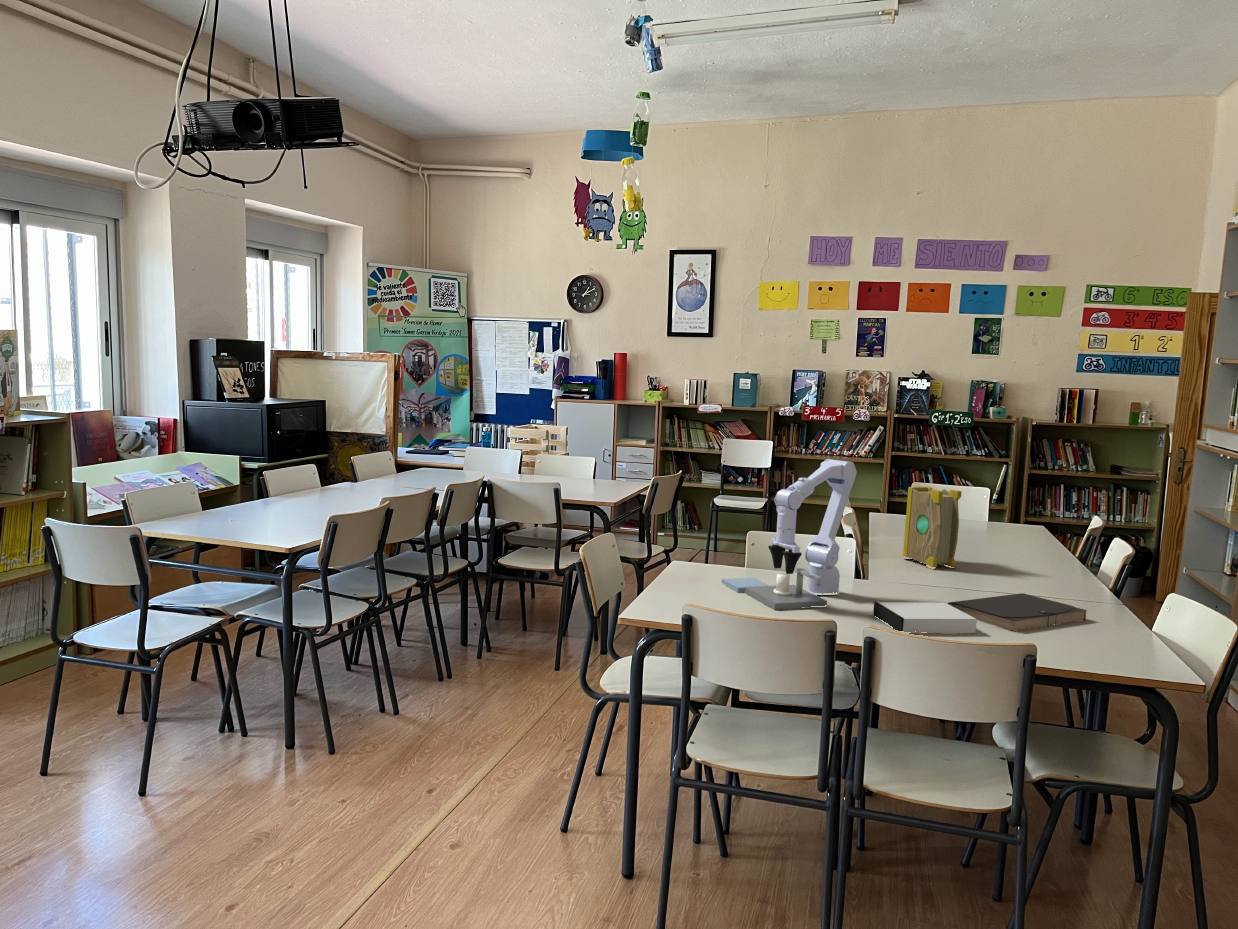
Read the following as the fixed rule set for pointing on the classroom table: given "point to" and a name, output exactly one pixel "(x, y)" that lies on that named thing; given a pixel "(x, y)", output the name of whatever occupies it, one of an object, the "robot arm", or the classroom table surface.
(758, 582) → the mat
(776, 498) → the robot arm
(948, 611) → the disc drive
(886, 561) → the classroom table surface
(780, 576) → the plug
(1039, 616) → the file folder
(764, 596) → the grey socket base
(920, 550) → the decorative book
